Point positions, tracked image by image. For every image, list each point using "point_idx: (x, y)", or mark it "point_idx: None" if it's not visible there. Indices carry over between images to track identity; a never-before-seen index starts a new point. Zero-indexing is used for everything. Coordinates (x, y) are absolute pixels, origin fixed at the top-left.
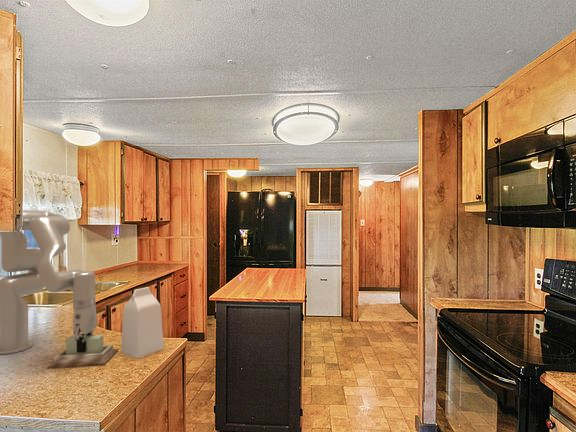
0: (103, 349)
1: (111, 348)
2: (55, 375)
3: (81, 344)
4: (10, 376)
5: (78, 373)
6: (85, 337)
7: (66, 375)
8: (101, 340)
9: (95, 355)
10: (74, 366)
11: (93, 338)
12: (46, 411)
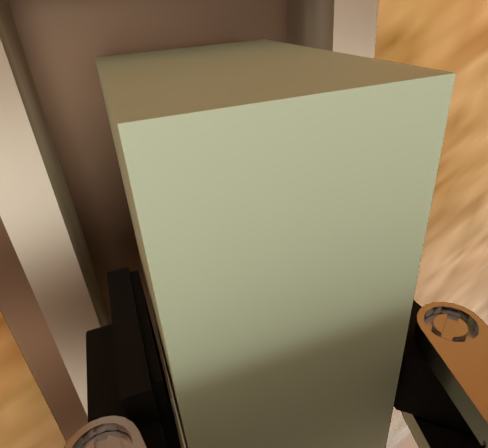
0: (26, 91)
1: None
2: (450, 231)
3: (413, 308)
4: (391, 434)
5: (474, 74)
6: (314, 418)
7: (476, 153)
8: (216, 76)
9: (368, 27)
10: None
11: (411, 219)
12: None
